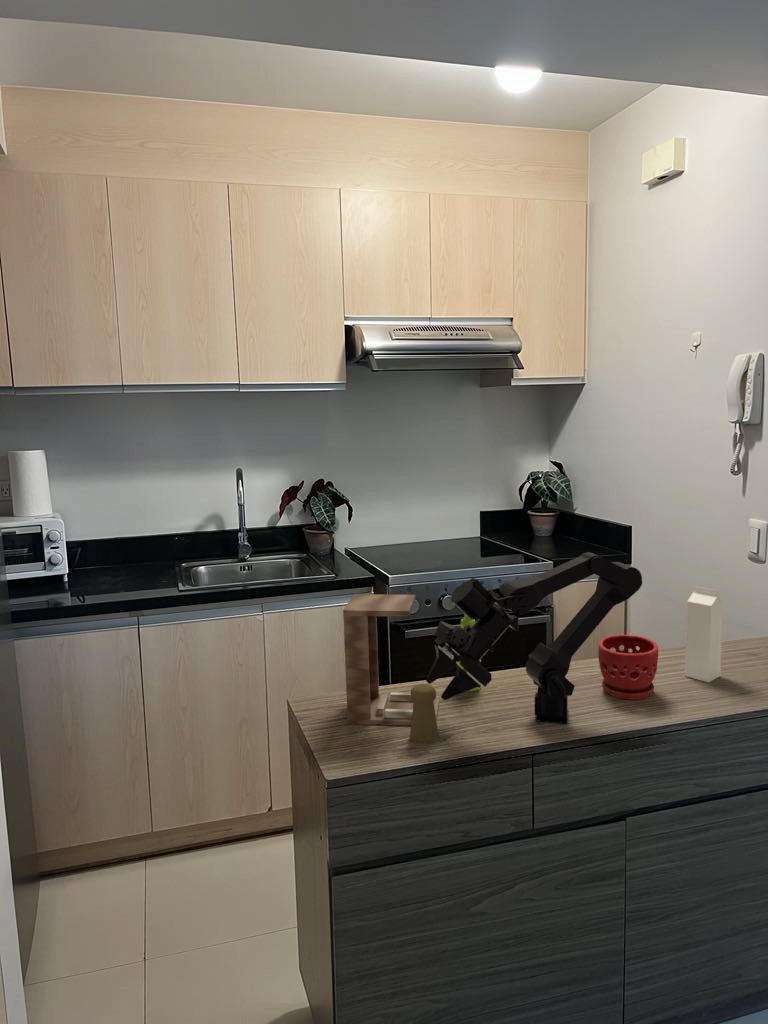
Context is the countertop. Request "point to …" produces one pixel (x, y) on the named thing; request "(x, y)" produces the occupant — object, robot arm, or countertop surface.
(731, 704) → the countertop surface
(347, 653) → the wooden stand
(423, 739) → the cork
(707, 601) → the milk
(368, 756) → the countertop surface
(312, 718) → the countertop surface
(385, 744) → the countertop surface
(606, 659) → the plant pot
